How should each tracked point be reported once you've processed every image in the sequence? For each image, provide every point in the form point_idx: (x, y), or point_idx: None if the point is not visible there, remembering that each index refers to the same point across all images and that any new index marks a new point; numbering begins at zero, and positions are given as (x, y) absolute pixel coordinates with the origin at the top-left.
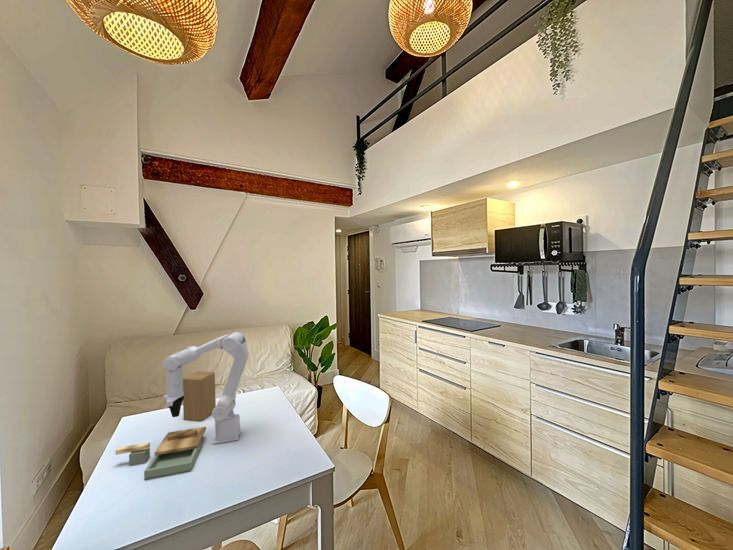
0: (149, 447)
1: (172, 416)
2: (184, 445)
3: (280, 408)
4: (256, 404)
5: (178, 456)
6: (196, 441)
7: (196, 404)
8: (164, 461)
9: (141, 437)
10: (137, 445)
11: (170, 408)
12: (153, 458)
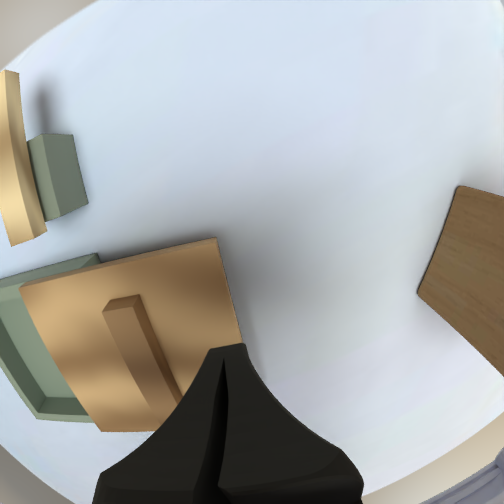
0: (61, 215)
1: (207, 354)
2: (88, 393)
3: (389, 478)
4: (453, 417)
5: None
6: (124, 424)
7: (486, 314)
8: None
9: (301, 24)
10: (7, 177)
11: (166, 433)
12: (12, 289)
